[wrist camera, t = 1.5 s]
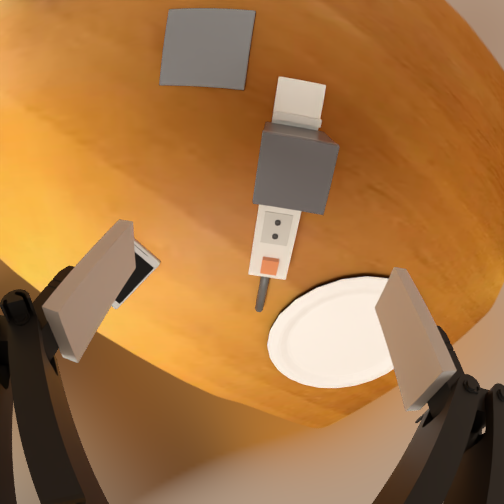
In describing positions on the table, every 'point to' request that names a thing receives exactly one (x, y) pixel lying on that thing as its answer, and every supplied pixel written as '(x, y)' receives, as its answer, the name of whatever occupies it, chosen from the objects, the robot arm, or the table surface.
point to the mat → (207, 47)
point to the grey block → (294, 168)
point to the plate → (332, 335)
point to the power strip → (274, 218)
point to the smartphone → (137, 272)
